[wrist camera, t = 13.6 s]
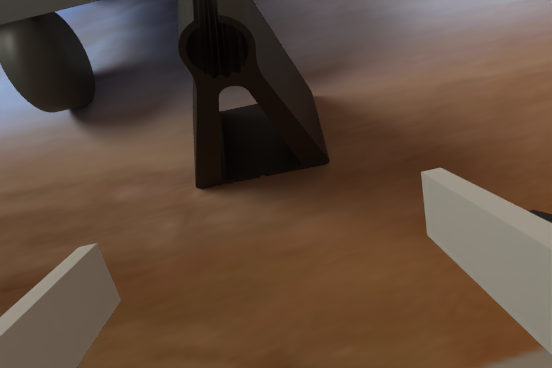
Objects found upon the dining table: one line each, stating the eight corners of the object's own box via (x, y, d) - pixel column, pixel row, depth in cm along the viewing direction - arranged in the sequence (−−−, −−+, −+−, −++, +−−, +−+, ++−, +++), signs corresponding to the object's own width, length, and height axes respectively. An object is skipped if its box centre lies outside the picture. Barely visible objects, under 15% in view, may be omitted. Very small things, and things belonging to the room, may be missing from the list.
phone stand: (312, 95, 25) (301, -94, 15) (329, 164, 22) (331, -10, 12) (195, 119, 26) (101, -48, 15) (197, 189, 23) (85, 45, 12)
